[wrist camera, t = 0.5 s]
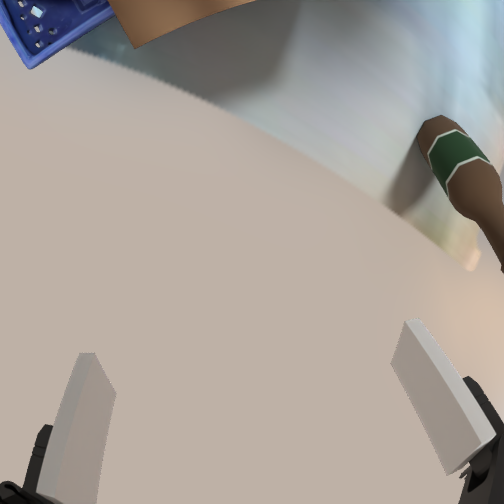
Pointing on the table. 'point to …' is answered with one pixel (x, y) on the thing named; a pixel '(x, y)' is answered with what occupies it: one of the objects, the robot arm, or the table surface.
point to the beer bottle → (465, 177)
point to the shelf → (163, 15)
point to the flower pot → (50, 25)
